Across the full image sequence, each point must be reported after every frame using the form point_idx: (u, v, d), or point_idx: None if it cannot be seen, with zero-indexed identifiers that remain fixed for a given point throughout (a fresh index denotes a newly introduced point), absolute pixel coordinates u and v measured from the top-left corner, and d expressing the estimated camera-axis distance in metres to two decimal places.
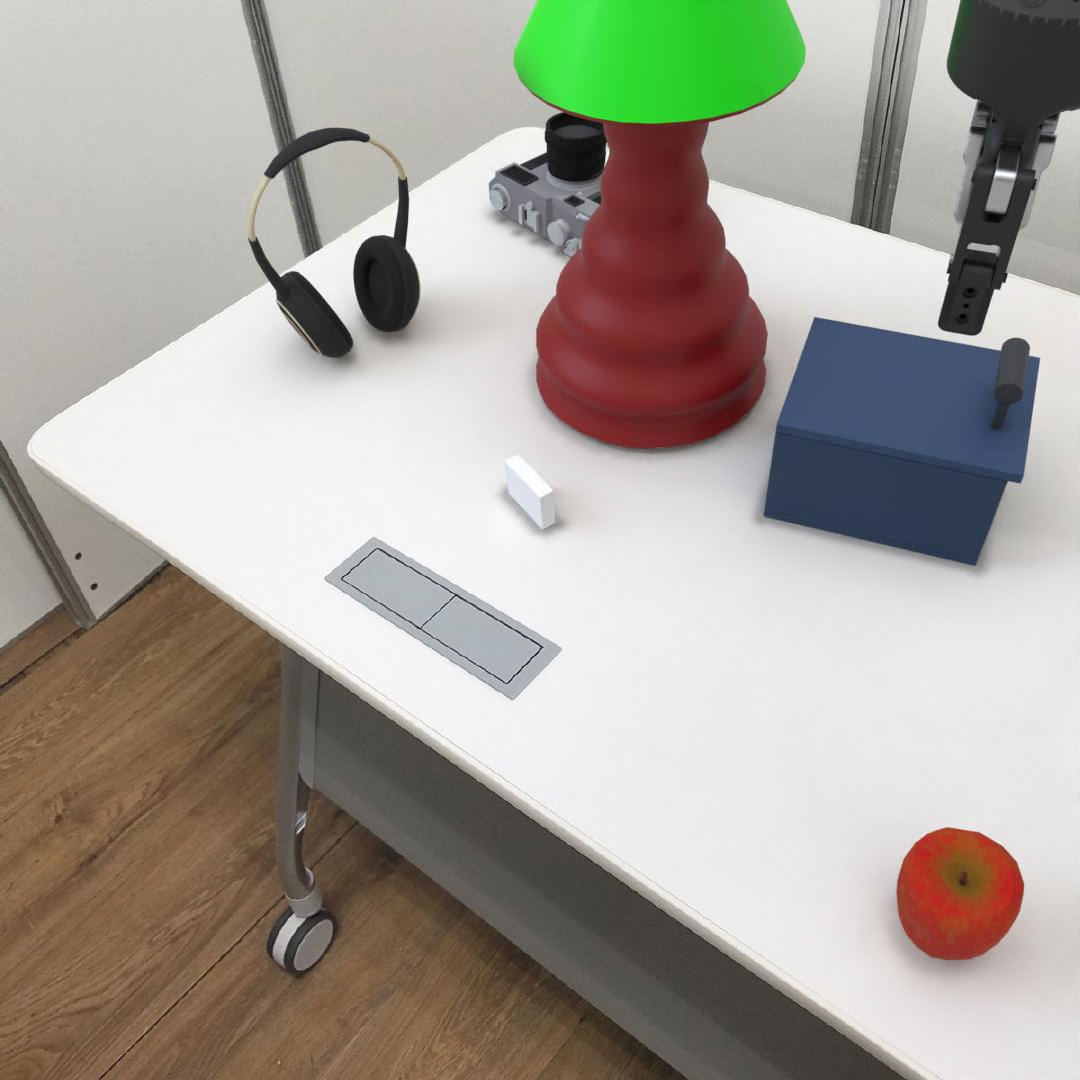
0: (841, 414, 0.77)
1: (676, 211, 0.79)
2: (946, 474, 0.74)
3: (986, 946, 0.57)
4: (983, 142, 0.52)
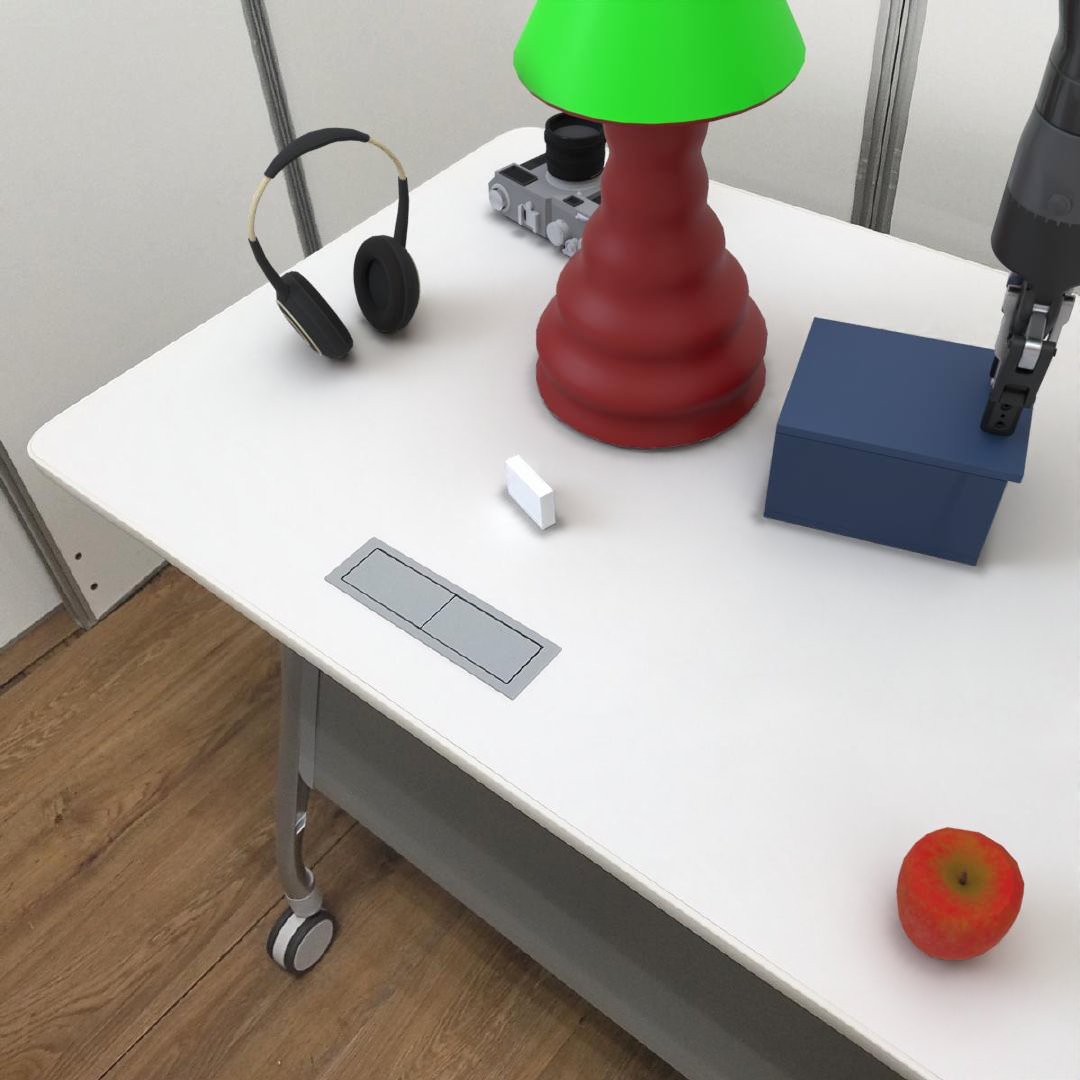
0: (841, 414, 0.77)
1: (676, 211, 0.79)
2: (946, 474, 0.74)
3: (986, 946, 0.57)
4: (1018, 300, 0.68)
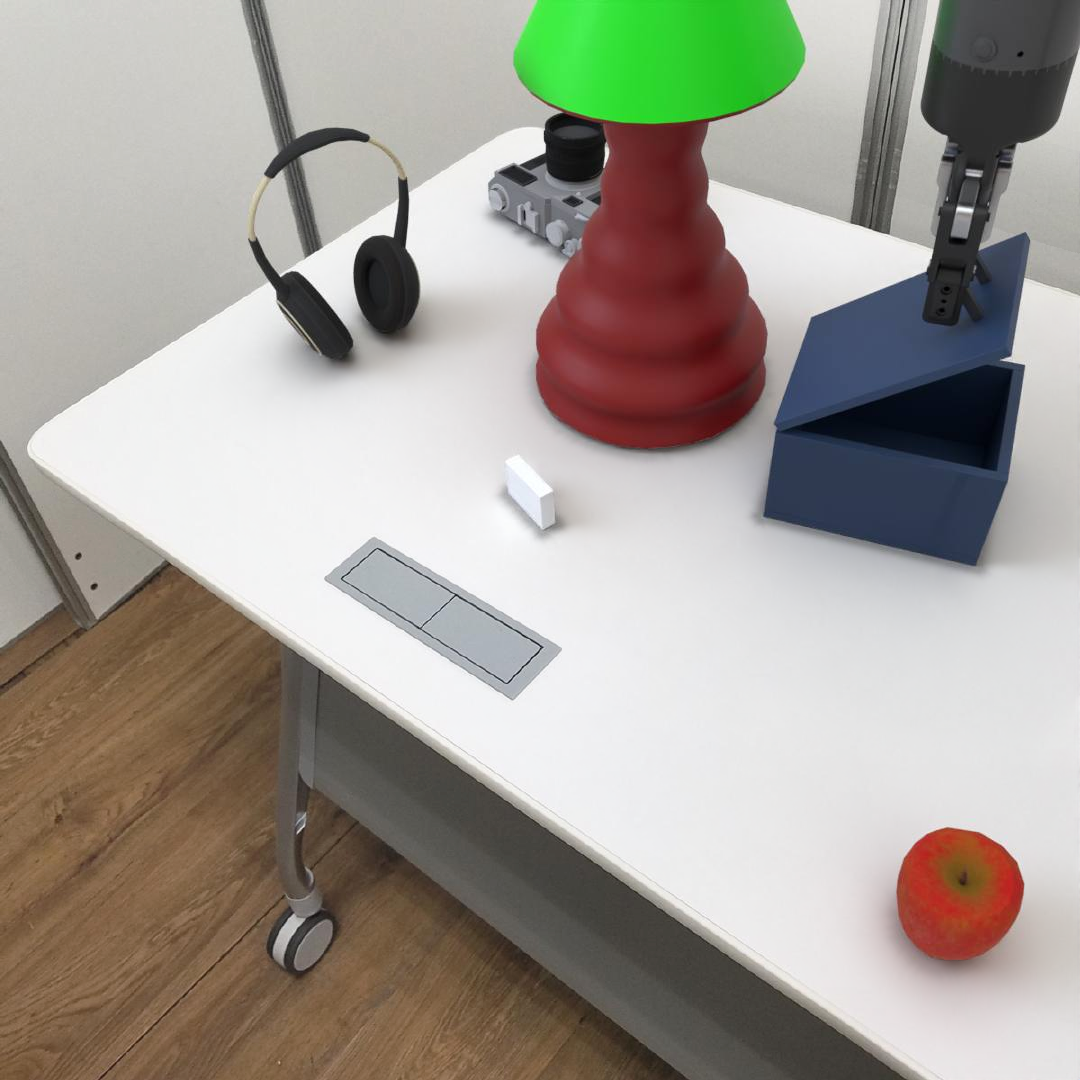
0: (831, 385, 0.75)
1: (676, 211, 0.79)
2: (946, 474, 0.74)
3: (986, 946, 0.57)
4: (952, 169, 0.63)
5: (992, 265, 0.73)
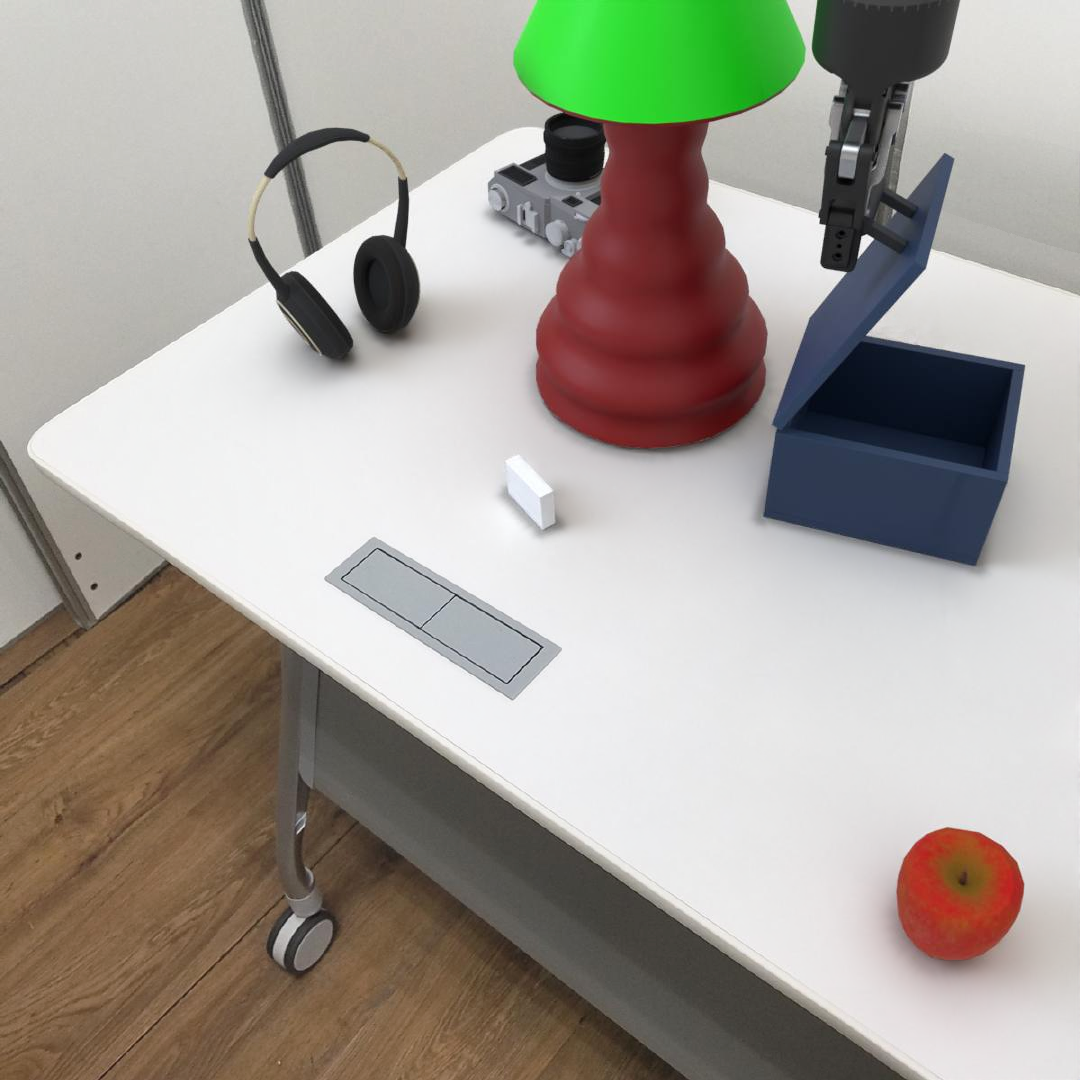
0: (809, 368, 0.75)
1: (676, 211, 0.79)
2: (946, 474, 0.74)
3: (986, 946, 0.57)
4: None
5: (920, 196, 0.71)
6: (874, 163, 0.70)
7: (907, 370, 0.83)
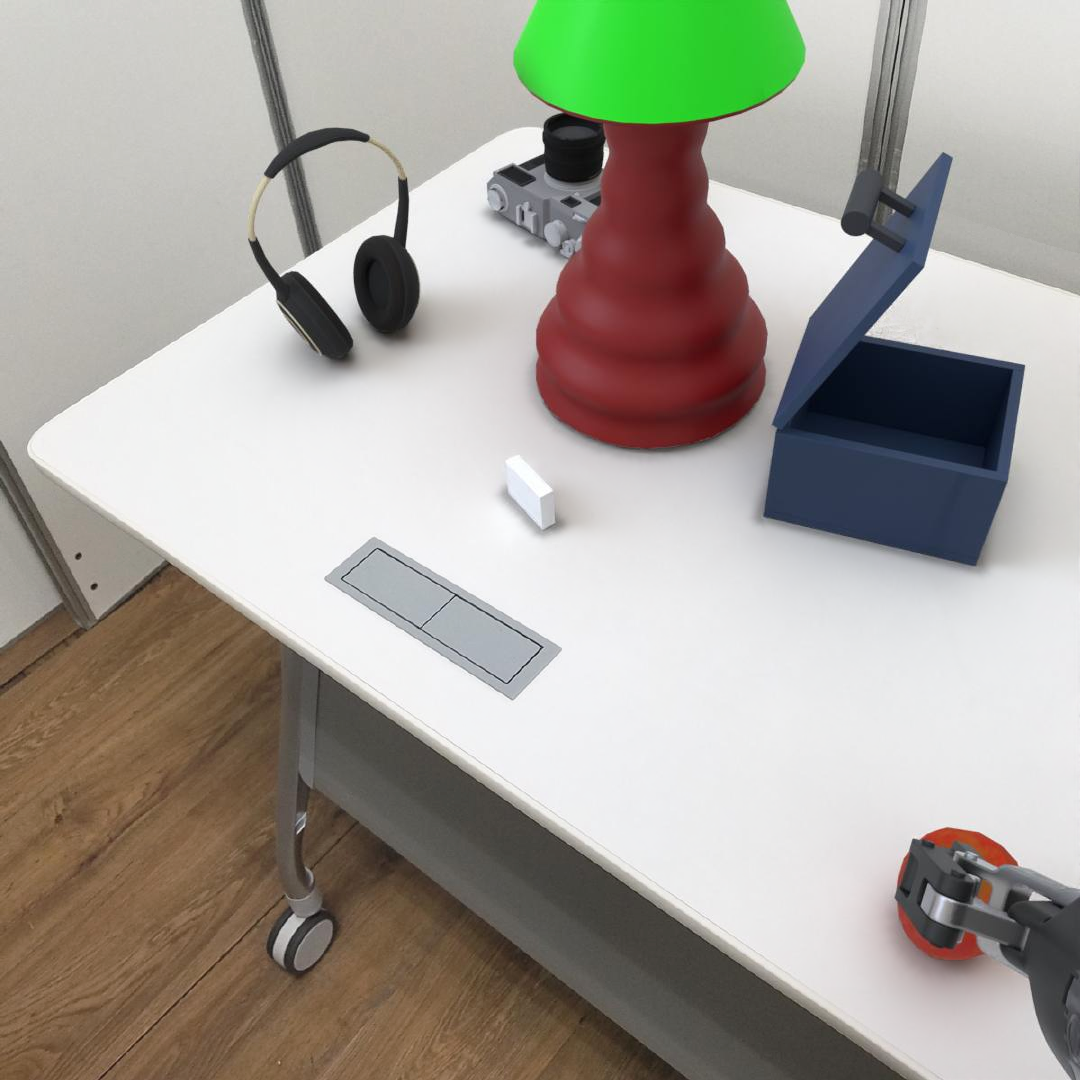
0: (808, 368, 0.75)
1: (676, 211, 0.79)
2: (946, 474, 0.74)
3: None
4: None
5: (918, 195, 0.71)
6: None
7: (907, 370, 0.83)
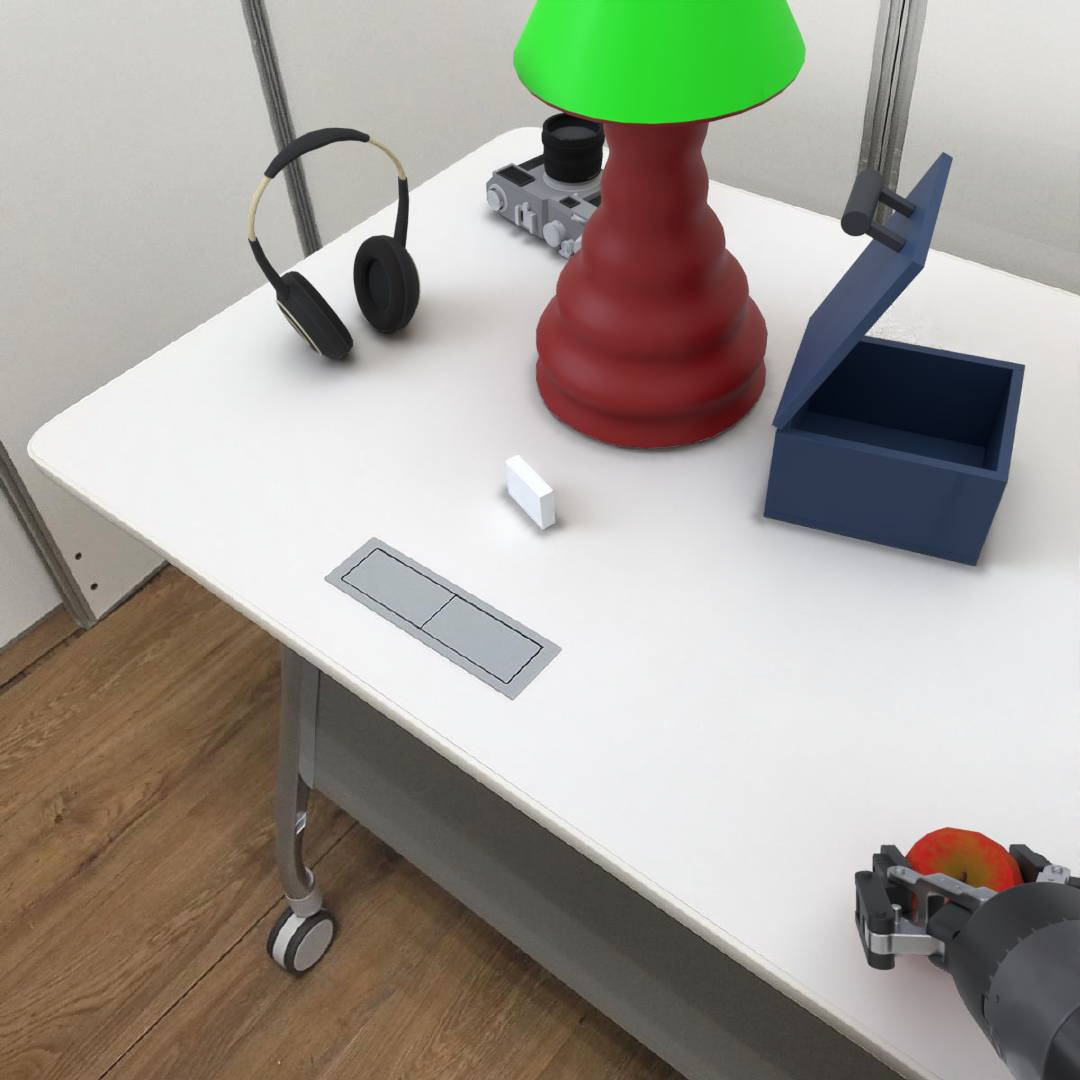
0: (808, 368, 0.75)
1: (676, 211, 0.79)
2: (946, 474, 0.74)
3: None
4: None
5: (918, 195, 0.71)
6: None
7: (907, 370, 0.83)
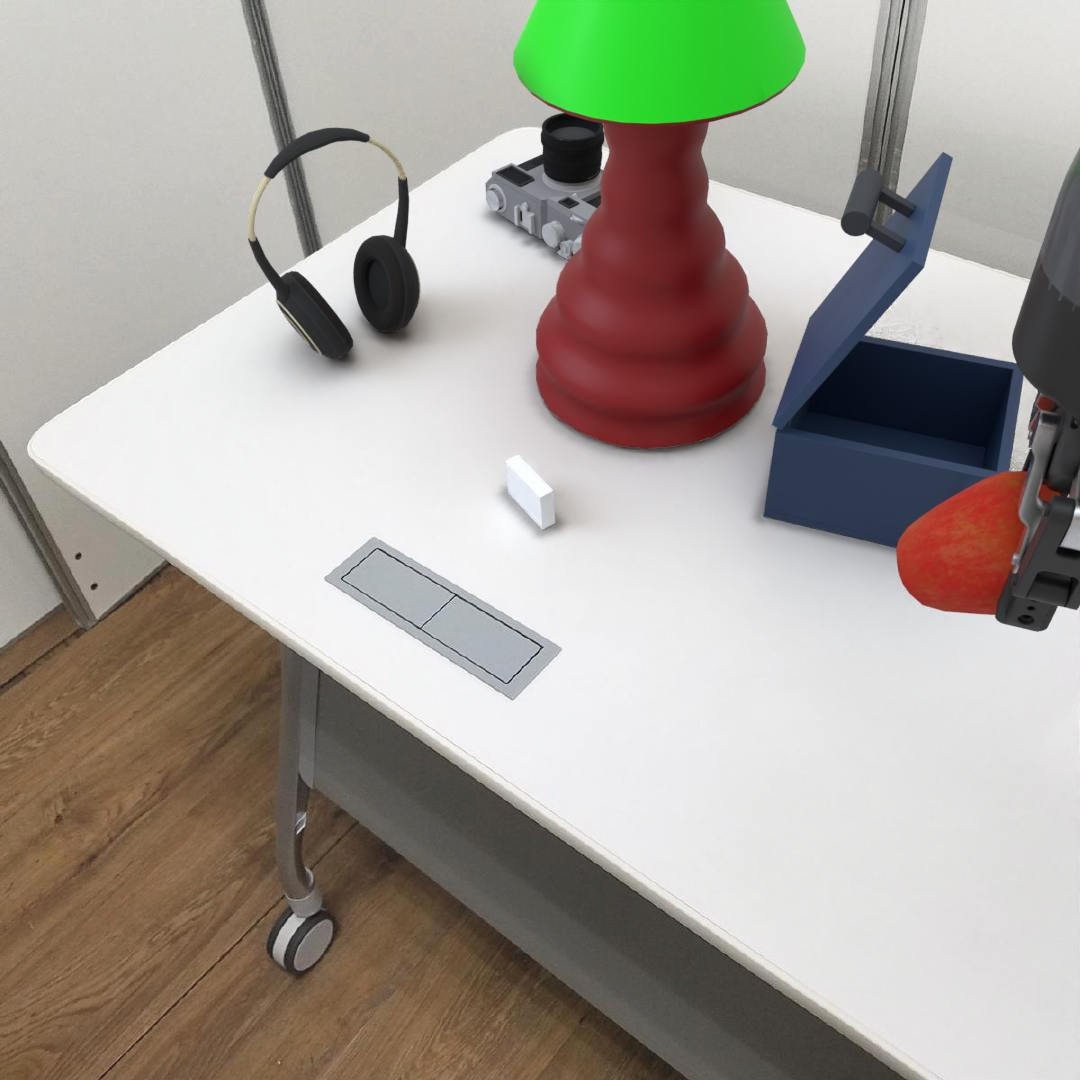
0: (808, 368, 0.75)
1: (676, 211, 0.79)
2: (946, 474, 0.74)
3: (966, 515, 0.49)
4: (1056, 436, 0.43)
5: (918, 195, 0.71)
6: None
7: (907, 370, 0.83)
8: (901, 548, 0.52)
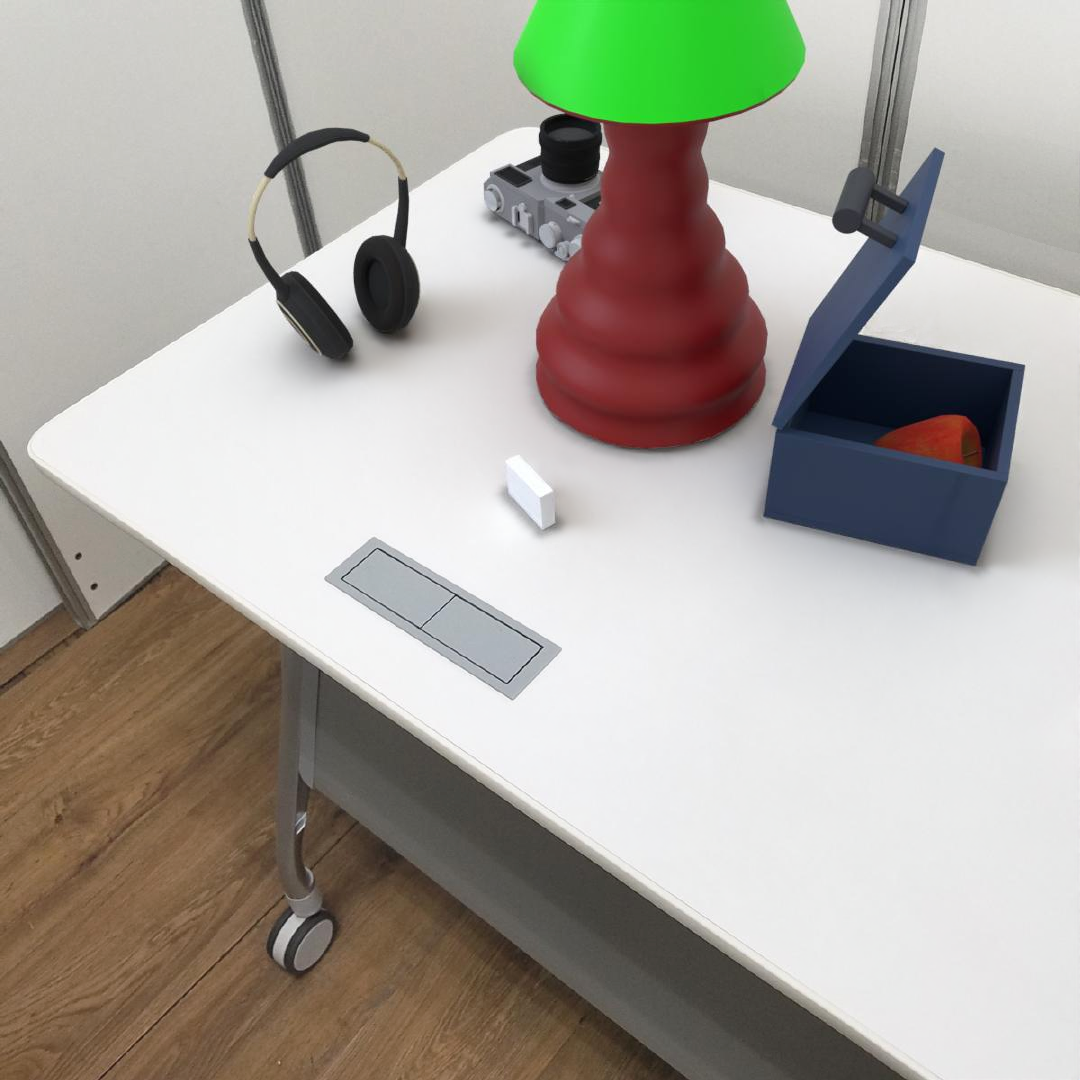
0: (806, 367, 0.75)
1: (676, 211, 0.79)
2: (946, 474, 0.74)
3: (925, 441, 0.78)
4: None
5: (911, 191, 0.71)
6: None
7: (907, 370, 0.83)
8: None
